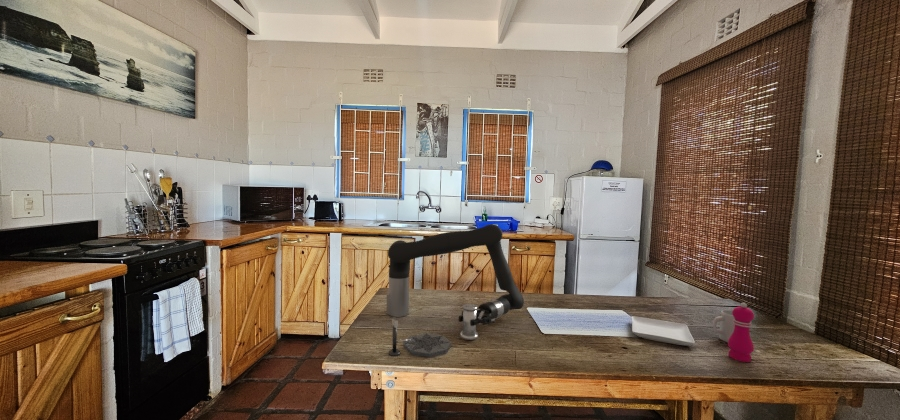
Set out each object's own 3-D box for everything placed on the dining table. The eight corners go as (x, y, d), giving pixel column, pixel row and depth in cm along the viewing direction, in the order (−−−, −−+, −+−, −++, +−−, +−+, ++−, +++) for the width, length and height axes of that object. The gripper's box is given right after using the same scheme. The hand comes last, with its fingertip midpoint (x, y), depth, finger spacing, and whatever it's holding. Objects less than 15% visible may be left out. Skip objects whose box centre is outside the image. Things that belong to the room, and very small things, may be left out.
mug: (735, 336, 150) (737, 310, 149) (751, 345, 141) (753, 317, 141) (705, 335, 150) (707, 309, 150) (719, 344, 142) (721, 316, 141)
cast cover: (458, 338, 139) (459, 307, 138) (462, 331, 145) (463, 302, 144) (475, 340, 137) (476, 310, 136) (479, 333, 143) (480, 304, 143)
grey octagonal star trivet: (398, 352, 128) (398, 348, 128) (415, 335, 143) (415, 331, 143) (441, 359, 123) (442, 355, 123) (454, 341, 139) (454, 337, 138)
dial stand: (390, 357, 124) (391, 322, 123) (386, 352, 128) (387, 318, 127) (412, 352, 128) (413, 318, 127) (408, 348, 132) (408, 314, 131)
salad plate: (686, 331, 155) (686, 323, 155) (695, 351, 136) (695, 342, 135) (630, 322, 164) (630, 314, 164) (631, 339, 145) (632, 331, 144)
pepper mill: (721, 353, 134) (725, 299, 132) (740, 353, 134) (744, 299, 133) (739, 362, 126) (743, 306, 125) (758, 362, 127) (762, 306, 126)
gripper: (477, 297, 156) (451, 307, 143) (506, 305, 146) (480, 316, 134) (476, 314, 156) (450, 325, 144) (505, 324, 147) (480, 336, 134)
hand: (465, 321), depth 139 cm, fingers closed on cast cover, 5 cm apart
